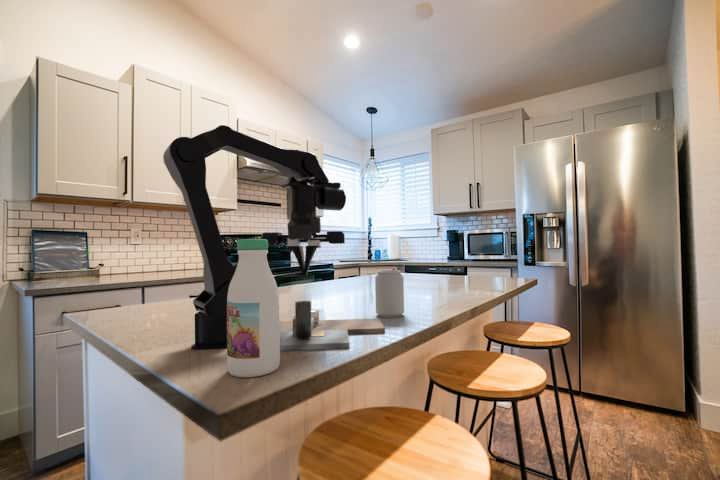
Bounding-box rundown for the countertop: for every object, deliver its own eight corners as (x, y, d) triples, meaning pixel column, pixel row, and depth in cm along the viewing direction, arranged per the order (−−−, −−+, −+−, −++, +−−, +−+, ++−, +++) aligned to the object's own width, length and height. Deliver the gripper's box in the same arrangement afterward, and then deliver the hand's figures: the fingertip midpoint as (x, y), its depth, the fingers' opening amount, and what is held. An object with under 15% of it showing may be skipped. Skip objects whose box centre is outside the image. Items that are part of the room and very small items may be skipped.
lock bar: (304, 320, 80) (303, 292, 80) (319, 320, 80) (319, 292, 80) (292, 338, 65) (292, 303, 65) (312, 337, 65) (311, 303, 65)
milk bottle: (263, 357, 58) (262, 239, 59) (289, 368, 53) (288, 238, 53) (218, 370, 53) (217, 239, 53) (242, 383, 47) (241, 238, 48)
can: (403, 312, 95) (402, 269, 95) (404, 318, 88) (403, 271, 88) (376, 312, 96) (375, 269, 96) (375, 318, 88) (374, 271, 89)
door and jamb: (260, 351, 62) (259, 326, 62) (278, 325, 82) (278, 306, 82) (392, 346, 64) (392, 322, 64) (378, 322, 84) (378, 303, 84)
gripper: (253, 205, 72) (254, 280, 71) (343, 203, 72) (344, 278, 72) (266, 210, 83) (267, 275, 83) (344, 209, 83) (345, 274, 83)
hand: (304, 275), depth 80 cm, fingers closed
